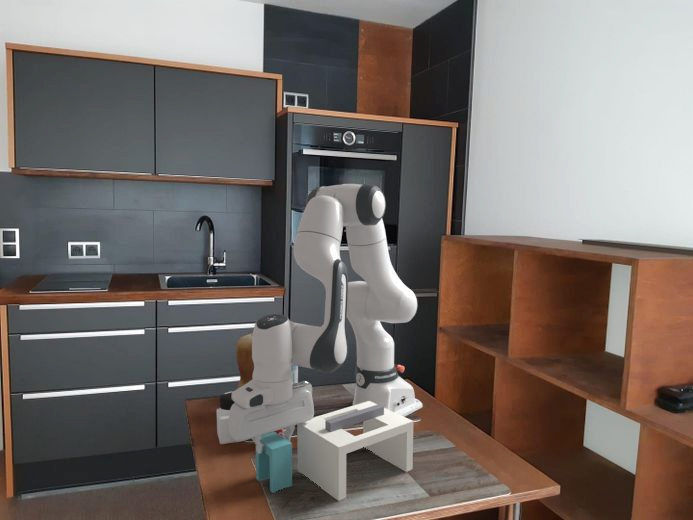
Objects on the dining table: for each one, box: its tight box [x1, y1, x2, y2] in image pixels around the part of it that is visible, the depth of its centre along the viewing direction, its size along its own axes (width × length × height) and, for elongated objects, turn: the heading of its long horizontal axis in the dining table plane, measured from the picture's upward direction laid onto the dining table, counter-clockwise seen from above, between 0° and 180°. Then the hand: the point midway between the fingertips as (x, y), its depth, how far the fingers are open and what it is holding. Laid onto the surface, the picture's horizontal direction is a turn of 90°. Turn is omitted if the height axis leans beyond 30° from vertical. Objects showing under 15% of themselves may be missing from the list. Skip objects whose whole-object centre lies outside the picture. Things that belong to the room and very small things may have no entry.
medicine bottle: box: [216, 391, 246, 445], centre depth 146 cm, size 7×7×12 cm
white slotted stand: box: [296, 401, 414, 502], centre depth 129 cm, size 22×16×14 cm
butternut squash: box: [235, 332, 254, 390], centre depth 160 cm, size 14×13×25 cm
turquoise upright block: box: [255, 432, 293, 494], centre depth 123 cm, size 5×7×10 cm
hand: (273, 448), depth 123 cm, fingers closed on turquoise upright block, 5 cm apart
